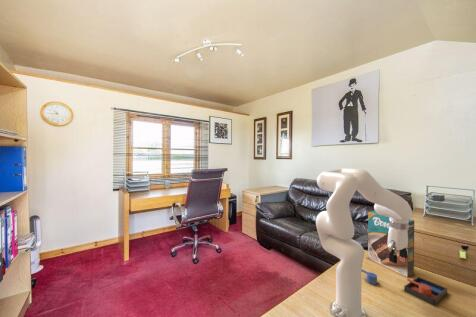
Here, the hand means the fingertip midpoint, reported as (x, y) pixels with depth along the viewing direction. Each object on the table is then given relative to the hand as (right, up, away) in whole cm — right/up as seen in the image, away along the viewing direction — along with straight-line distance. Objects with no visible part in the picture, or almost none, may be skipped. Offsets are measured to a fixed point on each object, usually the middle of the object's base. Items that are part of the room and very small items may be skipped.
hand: (398, 259), depth 102 cm
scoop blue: (-10, -15, +8) cm, 20 cm away
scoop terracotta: (+8, -14, -3) cm, 16 cm away
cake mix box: (+11, -14, +21) cm, 28 cm away
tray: (+12, -15, -2) cm, 19 cm away
